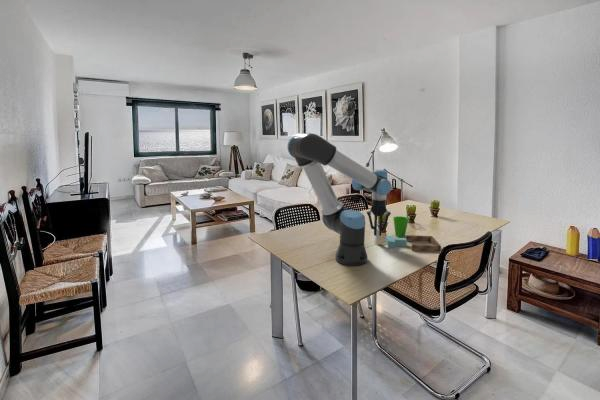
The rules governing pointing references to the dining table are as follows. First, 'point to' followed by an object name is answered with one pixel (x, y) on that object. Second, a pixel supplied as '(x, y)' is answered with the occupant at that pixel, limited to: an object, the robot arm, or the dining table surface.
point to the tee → (395, 241)
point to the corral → (416, 247)
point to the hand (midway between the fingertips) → (377, 241)
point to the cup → (400, 225)
